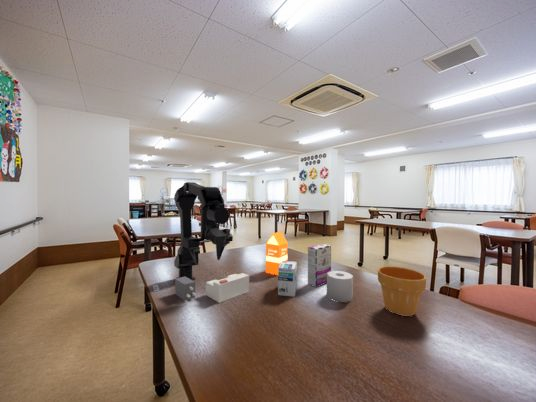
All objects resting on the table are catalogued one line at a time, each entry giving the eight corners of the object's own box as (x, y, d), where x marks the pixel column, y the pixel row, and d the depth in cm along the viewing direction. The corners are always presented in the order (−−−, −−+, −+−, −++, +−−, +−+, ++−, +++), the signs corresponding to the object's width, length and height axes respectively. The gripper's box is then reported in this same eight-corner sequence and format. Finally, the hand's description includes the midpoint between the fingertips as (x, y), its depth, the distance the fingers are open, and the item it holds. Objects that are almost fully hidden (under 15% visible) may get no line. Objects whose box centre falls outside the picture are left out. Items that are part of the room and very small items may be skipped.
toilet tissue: (343, 288, 98) (343, 267, 98) (356, 302, 85) (356, 279, 85) (321, 288, 98) (322, 267, 98) (331, 302, 85) (331, 279, 85)
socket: (205, 295, 90) (206, 276, 89) (235, 285, 100) (235, 268, 99) (219, 302, 83) (219, 283, 83) (249, 291, 93) (249, 274, 93)
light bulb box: (294, 297, 89) (295, 269, 89) (277, 295, 90) (277, 267, 90) (297, 286, 99) (297, 261, 99) (281, 285, 101) (281, 260, 100)
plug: (175, 294, 90) (175, 278, 90) (185, 291, 93) (185, 276, 93) (186, 302, 84) (186, 285, 83) (197, 299, 86) (197, 282, 86)
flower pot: (418, 304, 84) (419, 268, 84) (431, 325, 71) (432, 282, 70) (374, 298, 89) (375, 264, 88) (379, 316, 75) (380, 276, 75)
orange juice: (287, 270, 120) (288, 231, 119) (278, 275, 112) (279, 234, 112) (274, 268, 124) (274, 230, 123) (265, 272, 117) (265, 232, 116)
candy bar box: (322, 278, 110) (322, 243, 109) (331, 281, 106) (331, 245, 106) (306, 284, 102) (307, 246, 102) (316, 287, 99) (316, 248, 98)
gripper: (197, 225, 74) (196, 274, 75) (242, 221, 88) (241, 262, 89) (180, 221, 82) (180, 265, 83) (224, 218, 96) (223, 255, 96)
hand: (208, 262), depth 87 cm, fingers open, 9 cm apart
